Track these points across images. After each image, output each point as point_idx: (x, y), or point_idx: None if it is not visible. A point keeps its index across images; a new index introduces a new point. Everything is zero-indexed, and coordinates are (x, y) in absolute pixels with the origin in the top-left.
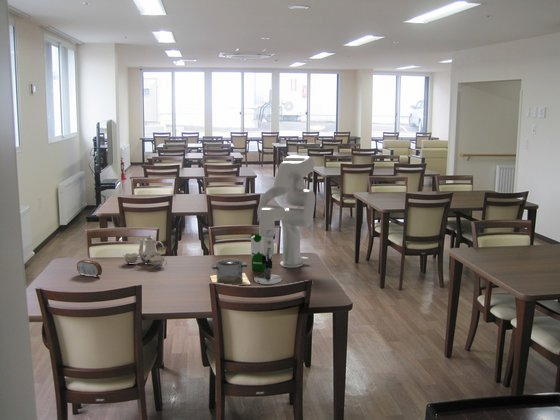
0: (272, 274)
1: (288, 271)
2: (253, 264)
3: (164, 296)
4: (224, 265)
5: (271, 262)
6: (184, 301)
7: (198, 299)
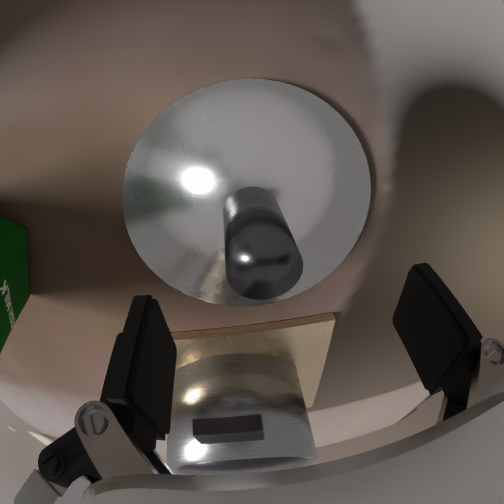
0: (131, 164)
1: (28, 32)
2: (17, 317)
3: (326, 437)
4: (295, 467)
5: (464, 323)
6: (379, 412)
7: (384, 400)
